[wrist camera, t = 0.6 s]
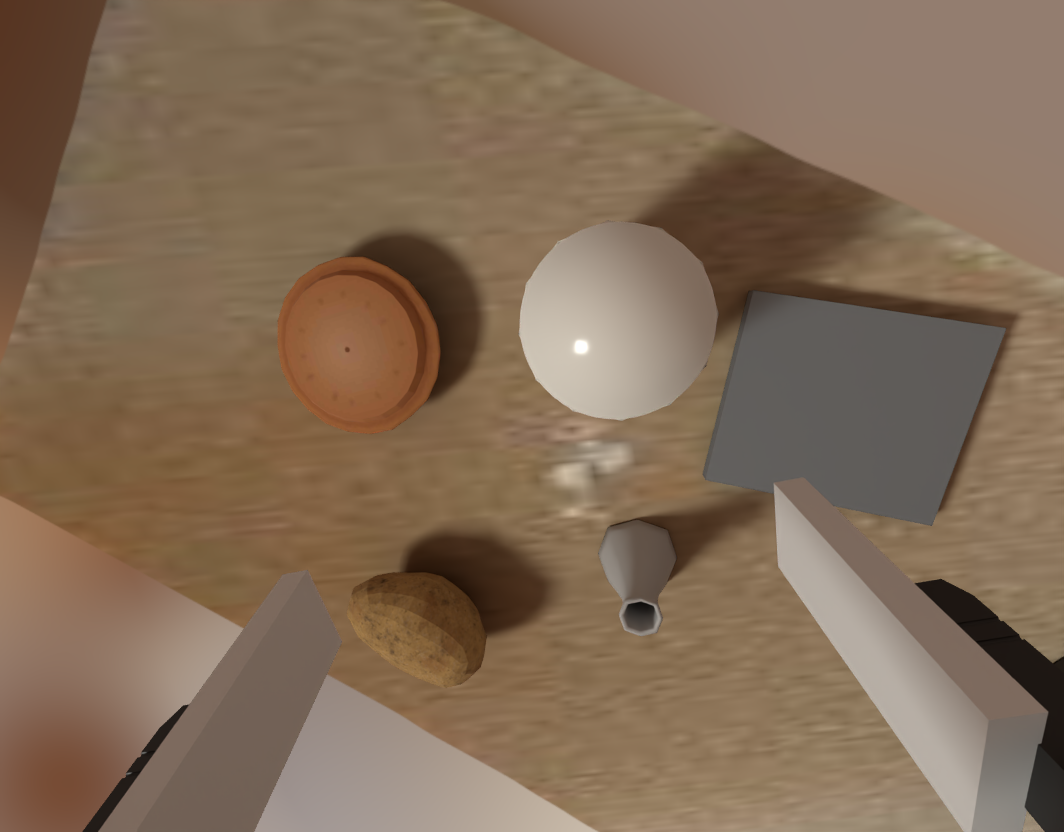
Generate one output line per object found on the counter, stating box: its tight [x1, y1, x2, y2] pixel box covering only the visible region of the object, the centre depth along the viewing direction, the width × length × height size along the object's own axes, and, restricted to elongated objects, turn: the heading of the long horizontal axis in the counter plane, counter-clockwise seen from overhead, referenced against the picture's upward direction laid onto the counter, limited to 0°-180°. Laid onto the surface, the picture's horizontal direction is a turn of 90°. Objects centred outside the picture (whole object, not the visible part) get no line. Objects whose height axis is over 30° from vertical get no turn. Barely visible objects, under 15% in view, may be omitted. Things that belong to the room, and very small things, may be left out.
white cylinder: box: [519, 220, 719, 420], centre depth 35 cm, size 11×11×14 cm
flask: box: [598, 520, 677, 636], centre depth 42 cm, size 7×7×10 cm
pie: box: [278, 257, 441, 434], centre depth 45 cm, size 16×16×5 cm
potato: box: [346, 572, 487, 688], centre depth 48 cm, size 10×14×8 cm
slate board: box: [703, 290, 1006, 526], centre depth 40 cm, size 18×16×2 cm
